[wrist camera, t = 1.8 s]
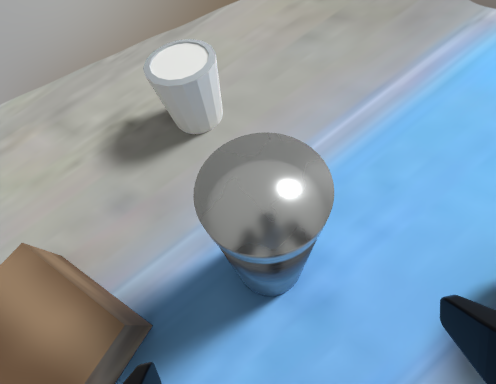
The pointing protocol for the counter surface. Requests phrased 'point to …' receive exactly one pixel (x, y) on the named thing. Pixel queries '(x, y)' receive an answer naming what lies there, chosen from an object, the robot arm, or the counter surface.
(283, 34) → the counter surface
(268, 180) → the tea tin
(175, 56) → the shot glass
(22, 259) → the walnut block
